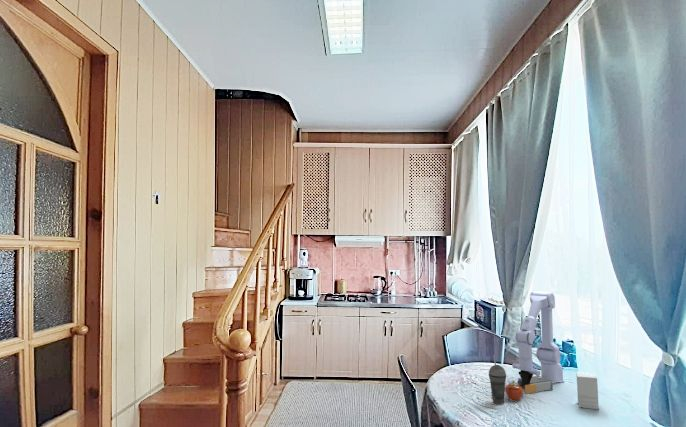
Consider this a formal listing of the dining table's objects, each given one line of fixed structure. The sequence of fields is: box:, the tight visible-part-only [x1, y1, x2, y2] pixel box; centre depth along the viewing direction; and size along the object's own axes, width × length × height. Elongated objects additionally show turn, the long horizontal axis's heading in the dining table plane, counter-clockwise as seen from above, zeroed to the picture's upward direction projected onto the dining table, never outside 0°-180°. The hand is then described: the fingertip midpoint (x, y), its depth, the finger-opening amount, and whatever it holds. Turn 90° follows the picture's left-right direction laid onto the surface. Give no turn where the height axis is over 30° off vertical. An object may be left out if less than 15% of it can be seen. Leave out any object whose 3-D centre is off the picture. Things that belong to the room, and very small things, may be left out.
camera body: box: [516, 375, 551, 391], centre depth 210 cm, size 13×8×5 cm, turn 108°
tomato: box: [505, 380, 524, 402], centre depth 196 cm, size 7×7×8 cm
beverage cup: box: [488, 354, 507, 405], centre depth 193 cm, size 7×7×20 cm
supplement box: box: [576, 371, 600, 410], centre depth 187 cm, size 7×7×13 cm
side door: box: [524, 381, 554, 394], centre depth 205 cm, size 15×1×4 cm, turn 109°
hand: (526, 387), depth 204 cm, fingers closed
